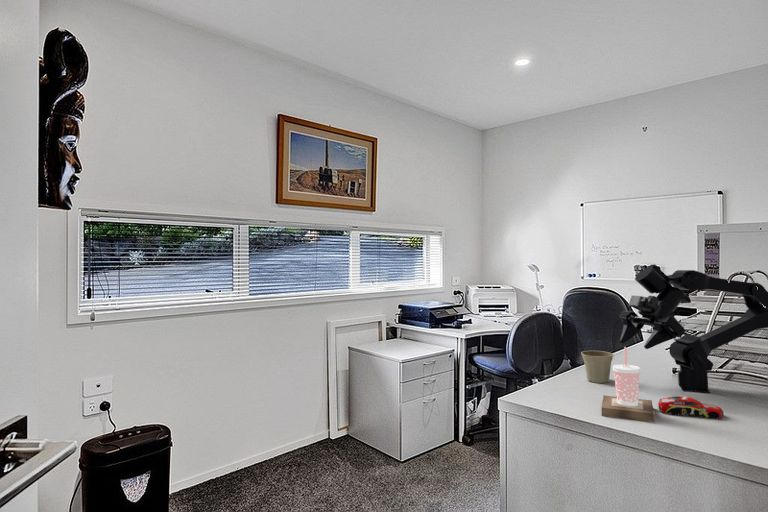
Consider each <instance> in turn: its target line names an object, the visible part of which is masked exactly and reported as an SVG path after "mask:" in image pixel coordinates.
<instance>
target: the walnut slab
mask: <svg viewBox="0 0 768 512" xmlns="http://www.w3.org/2000/svg"><path fill="white" fill-rule="evenodd" d="M654 411H655V410H654V406H653V401H652V399H645V398H644V399H643V398H642V399H641V398H638V405H637V406H624V405H621V404H618V403H617V396H611V395H603V396H602V402H601V416H602V417H610V418H618V419H625V420H626V419H627V420H634V421H643V422H651V423H655V412H654Z"/></svg>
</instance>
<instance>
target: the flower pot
mask: <svg viewBox="0 0 768 512" xmlns="http://www.w3.org/2000/svg"><path fill="white" fill-rule="evenodd" d="M580 354H581V356H582V359H583V362H584V367H585V373H586V379H587V380H586V381H588V382H591V383H595V384H605V383H609V382H610V374H611V366H612V361H613V357H614V356H615V354H614V353H612V352H609V351H602V350H584V351H581V352H580Z"/></svg>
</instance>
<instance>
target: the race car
mask: <svg viewBox="0 0 768 512" xmlns="http://www.w3.org/2000/svg"><path fill="white" fill-rule="evenodd" d="M657 405H658V406H657V408H658V409H659V411H661V412H662V413H665V414H669V415H671V416H687V417H698V418H699V417H700V418H705V419H706V418H708V419H711V420H718V419H721V418H723V417H724V414H725V413H724V410H723V409H722V407H720V406H717V405H714V404H712V403H708V402H707V403H706V402H702V401H700V400H698V399H695V398H692V397H690V396H684V395H683V396H682V395H681V396H680V395H679V396H678V395H677V396H669V397H663V398H659V401H658V403H657Z"/></svg>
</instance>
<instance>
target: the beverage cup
mask: <svg viewBox="0 0 768 512" xmlns="http://www.w3.org/2000/svg"><path fill="white" fill-rule="evenodd" d="M623 347H624V349H623V351H624V352H623V353H624V364H613V365H611V366H612V370H613V374H614V385H615V394H616V397H617V403H618V404H621V405H624V406H637V405H638V399H639V386H640V385H639V384H640V381H639V380H640V372H641V367H639V366H636V365H633V364H632V365H631V364H628V360H627V359H628V356H627V355H628V353H627V347H626V346H623Z"/></svg>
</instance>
